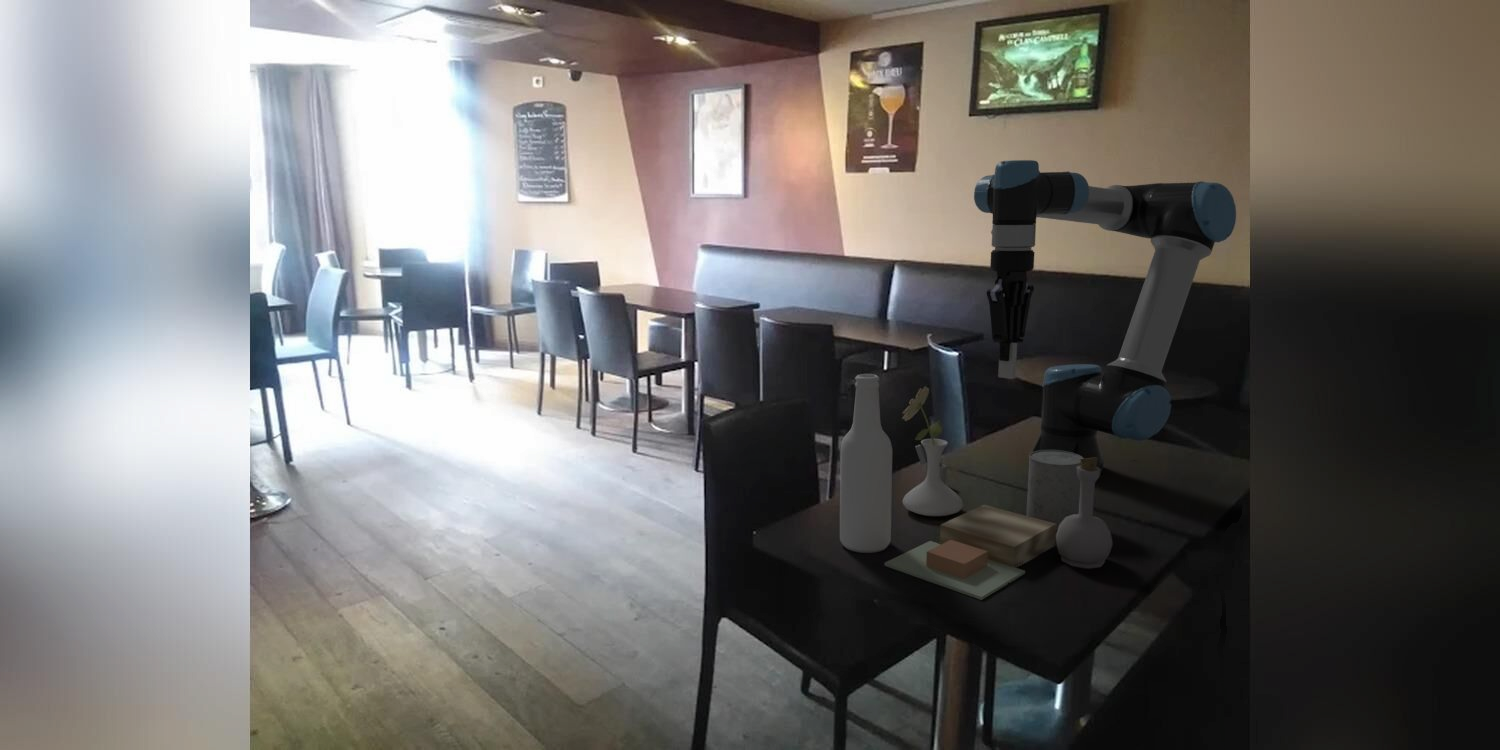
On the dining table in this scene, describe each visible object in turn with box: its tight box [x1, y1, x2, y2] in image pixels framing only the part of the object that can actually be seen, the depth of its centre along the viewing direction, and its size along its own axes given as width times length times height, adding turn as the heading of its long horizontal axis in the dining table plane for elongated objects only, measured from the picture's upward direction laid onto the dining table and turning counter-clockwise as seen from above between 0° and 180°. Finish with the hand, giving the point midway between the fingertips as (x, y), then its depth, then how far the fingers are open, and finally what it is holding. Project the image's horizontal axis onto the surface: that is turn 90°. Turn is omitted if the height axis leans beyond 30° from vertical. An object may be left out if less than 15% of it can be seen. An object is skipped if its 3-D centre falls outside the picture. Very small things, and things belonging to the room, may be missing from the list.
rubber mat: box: [884, 540, 1026, 601], centre depth 142 cm, size 13×18×1 cm
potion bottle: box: [1055, 457, 1113, 570], centre depth 143 cm, size 9×9×18 cm
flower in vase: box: [901, 385, 964, 517], centre depth 165 cm, size 13×11×25 cm
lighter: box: [915, 443, 948, 486], centre depth 184 cm, size 7×2×8 cm, turn 42°
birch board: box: [939, 504, 1057, 568], centre depth 150 cm, size 14×14×4 cm
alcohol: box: [839, 373, 893, 554], centre depth 150 cm, size 9×9×30 cm
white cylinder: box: [1025, 450, 1084, 531], centre depth 161 cm, size 10×10×12 cm
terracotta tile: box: [926, 540, 988, 579], centre depth 142 cm, size 7×7×2 cm
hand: (1006, 377), depth 162 cm, fingers closed
